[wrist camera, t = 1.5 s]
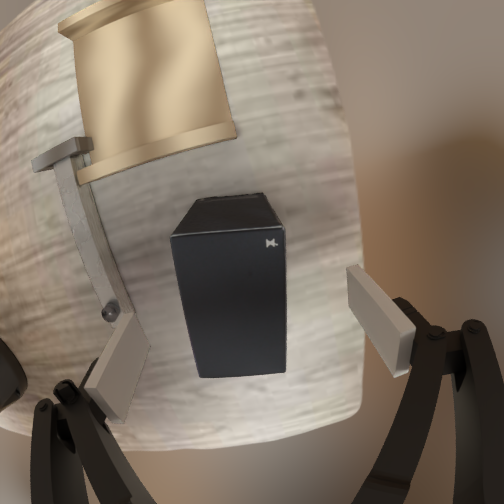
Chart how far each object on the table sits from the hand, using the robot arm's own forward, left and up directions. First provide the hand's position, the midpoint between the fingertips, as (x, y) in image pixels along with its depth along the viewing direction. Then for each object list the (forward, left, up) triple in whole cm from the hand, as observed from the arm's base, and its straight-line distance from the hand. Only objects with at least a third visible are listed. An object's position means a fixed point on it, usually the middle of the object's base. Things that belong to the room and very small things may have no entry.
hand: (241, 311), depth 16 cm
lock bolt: (-13, +5, -10) cm, 17 cm away
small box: (0, 0, -10) cm, 10 cm away
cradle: (-7, +18, -10) cm, 22 cm away
